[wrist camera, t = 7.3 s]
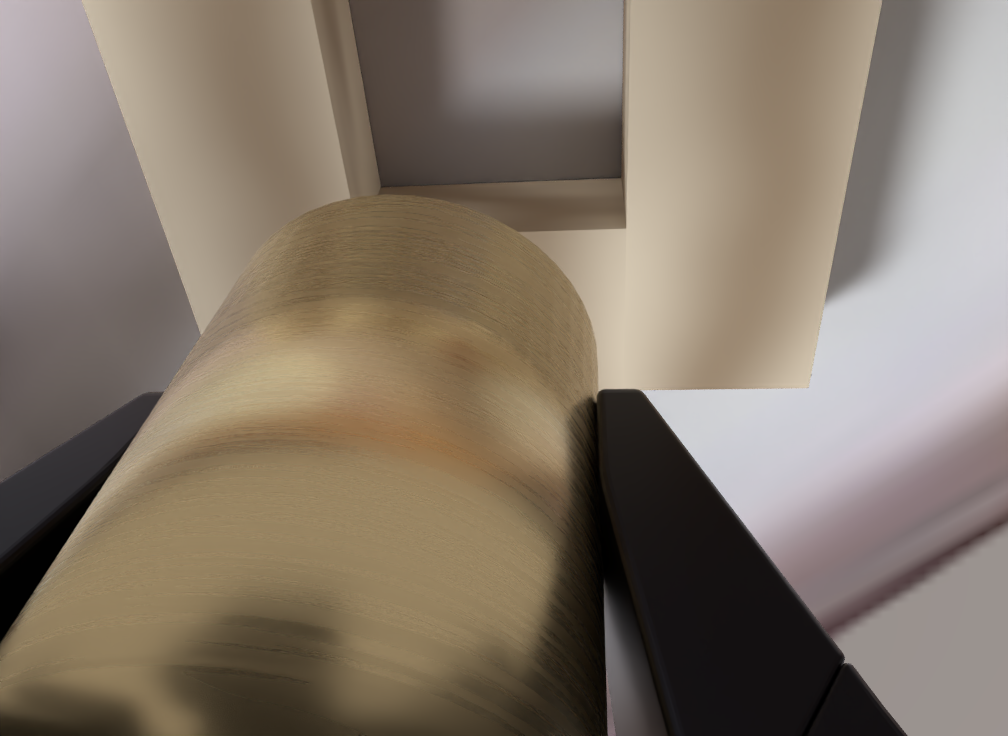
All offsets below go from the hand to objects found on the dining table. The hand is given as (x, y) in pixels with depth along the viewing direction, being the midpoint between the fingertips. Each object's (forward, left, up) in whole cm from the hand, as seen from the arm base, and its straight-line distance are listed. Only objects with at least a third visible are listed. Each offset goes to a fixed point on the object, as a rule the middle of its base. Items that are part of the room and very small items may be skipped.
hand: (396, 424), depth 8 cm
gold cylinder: (0, 0, -1) cm, 1 cm away
